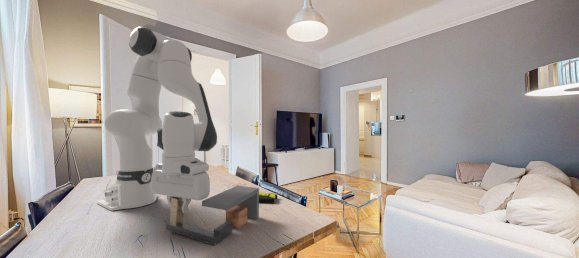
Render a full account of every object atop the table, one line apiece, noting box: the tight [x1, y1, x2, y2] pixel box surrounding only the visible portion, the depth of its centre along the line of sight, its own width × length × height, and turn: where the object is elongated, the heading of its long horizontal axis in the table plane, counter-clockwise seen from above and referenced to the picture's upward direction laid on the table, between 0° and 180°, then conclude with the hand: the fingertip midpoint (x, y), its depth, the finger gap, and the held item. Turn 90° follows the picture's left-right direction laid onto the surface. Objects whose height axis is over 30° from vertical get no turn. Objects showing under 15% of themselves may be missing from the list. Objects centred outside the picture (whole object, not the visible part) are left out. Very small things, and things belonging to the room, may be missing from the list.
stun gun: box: [259, 192, 278, 205], centre depth 90 cm, size 3×19×15 cm
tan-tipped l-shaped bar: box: [165, 197, 233, 246], centre depth 64 cm, size 18×8×10 cm, turn 70°
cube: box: [225, 206, 248, 229], centre depth 70 cm, size 5×5×5 cm
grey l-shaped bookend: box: [201, 185, 260, 220], centre depth 68 cm, size 9×18×10 cm, turn 160°
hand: (179, 210), depth 63 cm, fingers closed on tan-tipped l-shaped bar, 2 cm apart
